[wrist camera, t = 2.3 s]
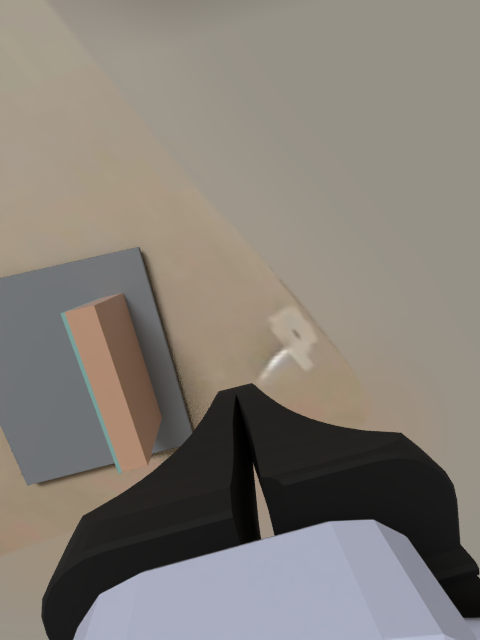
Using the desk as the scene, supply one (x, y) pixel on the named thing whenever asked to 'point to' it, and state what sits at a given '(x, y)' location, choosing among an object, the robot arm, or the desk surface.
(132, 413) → the tan wooden block
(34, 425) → the mat
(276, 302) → the desk surface
